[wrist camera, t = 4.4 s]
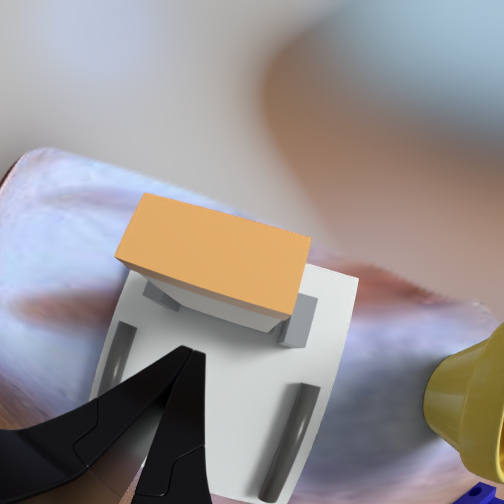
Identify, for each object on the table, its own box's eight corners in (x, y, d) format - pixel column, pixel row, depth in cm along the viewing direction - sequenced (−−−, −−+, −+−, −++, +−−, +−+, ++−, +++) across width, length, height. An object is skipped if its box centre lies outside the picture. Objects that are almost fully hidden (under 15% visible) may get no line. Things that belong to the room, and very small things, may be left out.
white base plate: (281, 498, 13) (291, 536, 8) (91, 429, 14) (52, 445, 9) (350, 284, 18) (382, 261, 13) (159, 227, 19) (135, 191, 14)
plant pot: (375, 404, 15) (473, 432, 6) (455, 304, 17) (546, 267, 8) (434, 473, 12) (511, 506, 3) (500, 381, 15) (578, 373, 5)
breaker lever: (269, 336, 15) (302, 318, 6) (184, 309, 15) (106, 253, 6) (279, 304, 15) (321, 241, 6) (195, 278, 16) (137, 190, 7)
